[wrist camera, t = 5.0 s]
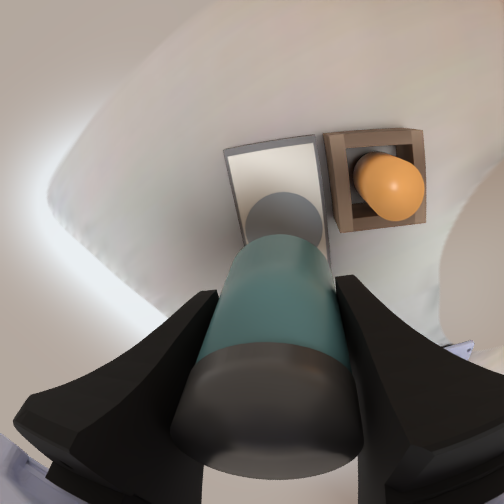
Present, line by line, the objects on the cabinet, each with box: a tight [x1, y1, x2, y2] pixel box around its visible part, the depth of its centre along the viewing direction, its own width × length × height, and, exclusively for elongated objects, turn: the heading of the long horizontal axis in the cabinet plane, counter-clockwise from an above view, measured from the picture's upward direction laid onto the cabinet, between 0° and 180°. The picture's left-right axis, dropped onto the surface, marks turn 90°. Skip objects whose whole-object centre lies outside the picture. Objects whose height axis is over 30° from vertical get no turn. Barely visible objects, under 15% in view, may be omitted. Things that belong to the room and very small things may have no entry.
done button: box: [353, 151, 424, 221], centre depth 12 cm, size 3×3×3 cm
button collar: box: [323, 128, 426, 233], centre depth 14 cm, size 5×5×2 cm
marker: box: [170, 234, 364, 480], centre depth 8 cm, size 4×4×7 cm
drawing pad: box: [223, 135, 331, 270], centre depth 17 cm, size 10×5×1 cm, turn 11°
